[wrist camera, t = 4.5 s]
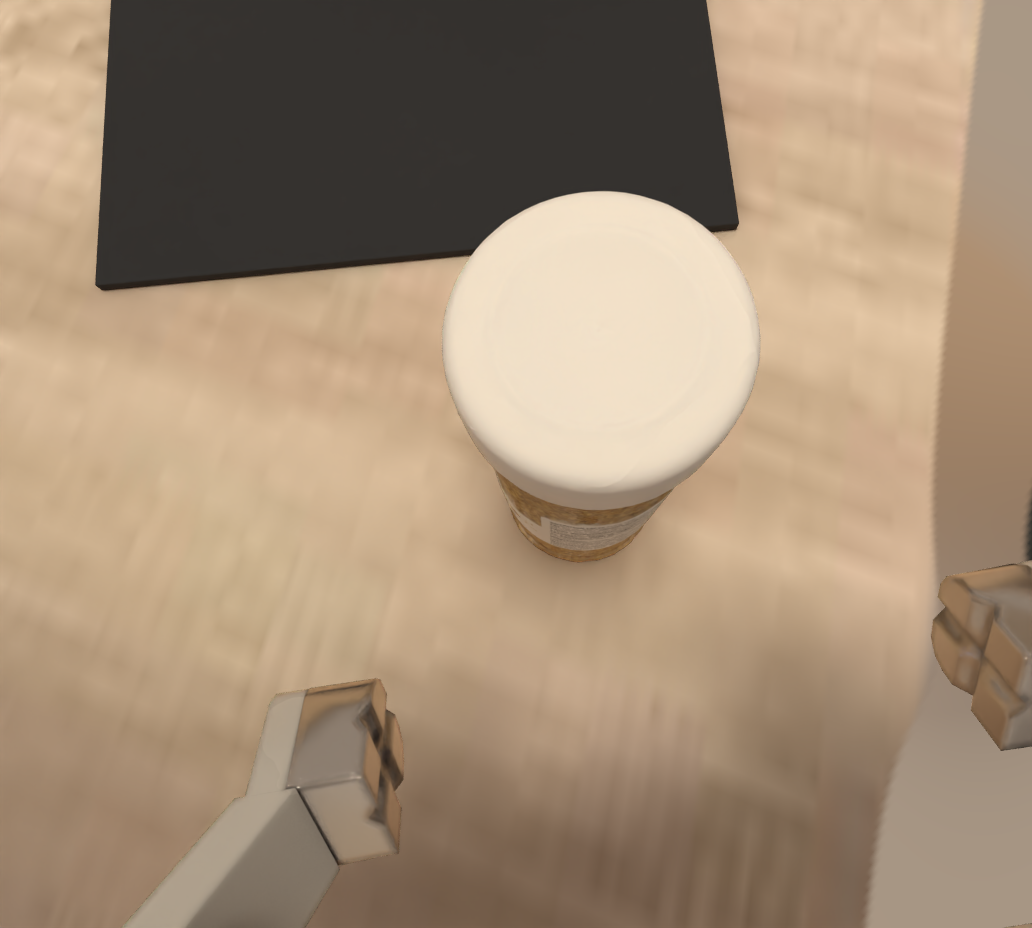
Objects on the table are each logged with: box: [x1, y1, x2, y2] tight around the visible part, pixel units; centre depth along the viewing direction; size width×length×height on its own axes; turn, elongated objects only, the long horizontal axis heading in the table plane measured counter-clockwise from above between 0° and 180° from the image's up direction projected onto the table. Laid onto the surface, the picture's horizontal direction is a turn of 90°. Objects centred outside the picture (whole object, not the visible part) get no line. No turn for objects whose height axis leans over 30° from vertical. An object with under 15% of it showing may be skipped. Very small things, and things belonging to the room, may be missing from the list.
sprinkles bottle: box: [442, 191, 760, 562], centre depth 17 cm, size 5×5×14 cm
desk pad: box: [95, 0, 739, 290], centre depth 27 cm, size 22×15×1 cm
